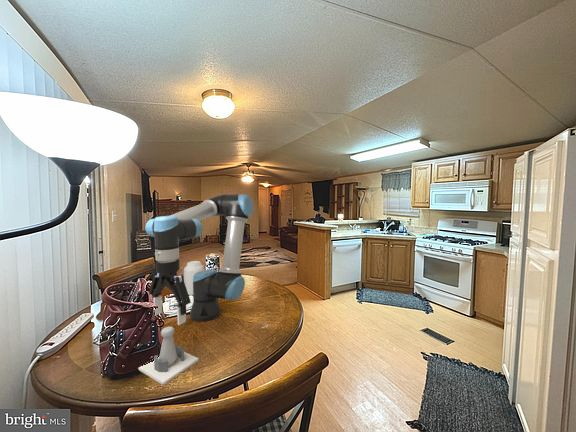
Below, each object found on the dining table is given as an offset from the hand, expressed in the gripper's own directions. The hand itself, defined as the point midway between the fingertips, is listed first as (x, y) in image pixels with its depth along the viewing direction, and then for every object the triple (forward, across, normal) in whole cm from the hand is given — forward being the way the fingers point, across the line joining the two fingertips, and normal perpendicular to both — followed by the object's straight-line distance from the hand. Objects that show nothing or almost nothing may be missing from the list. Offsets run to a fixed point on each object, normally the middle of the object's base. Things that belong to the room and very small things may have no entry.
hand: (169, 318), depth 86 cm
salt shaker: (+16, 0, -1) cm, 16 cm away
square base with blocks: (+17, 0, -1) cm, 17 cm away
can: (+18, -52, +52) cm, 76 cm away
